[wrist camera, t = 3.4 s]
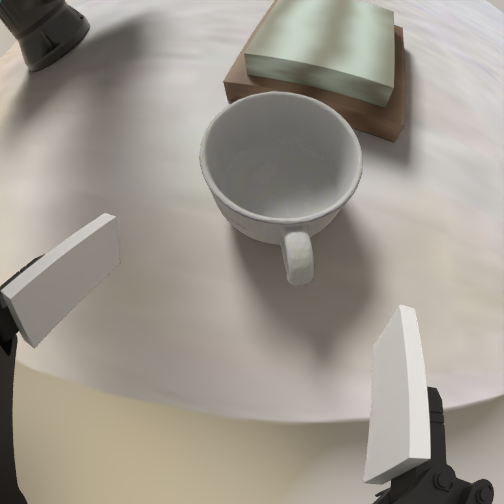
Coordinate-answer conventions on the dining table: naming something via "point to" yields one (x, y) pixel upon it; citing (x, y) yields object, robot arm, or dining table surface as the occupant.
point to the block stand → (328, 61)
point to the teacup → (281, 171)
